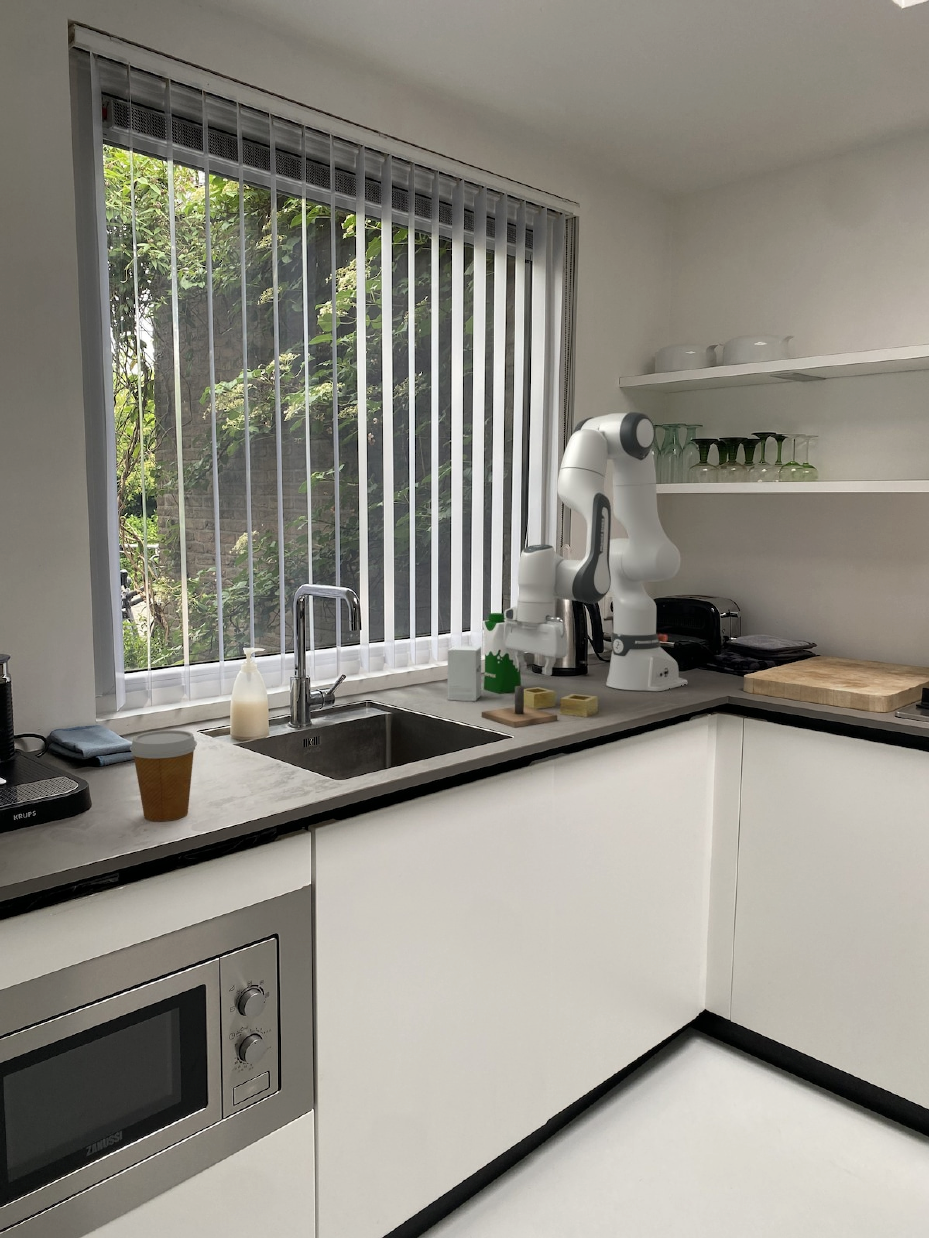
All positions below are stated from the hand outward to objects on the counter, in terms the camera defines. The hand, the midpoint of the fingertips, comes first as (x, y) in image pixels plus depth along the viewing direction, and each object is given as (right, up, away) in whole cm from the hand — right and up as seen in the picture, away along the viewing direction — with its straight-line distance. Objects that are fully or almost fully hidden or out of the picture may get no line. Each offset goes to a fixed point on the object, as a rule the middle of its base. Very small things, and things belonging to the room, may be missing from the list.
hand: (534, 672), depth 214 cm
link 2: (+10, -9, -7) cm, 15 cm away
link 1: (+1, -8, +1) cm, 8 cm away
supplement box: (-16, -7, +10) cm, 21 cm away
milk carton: (-7, -6, +21) cm, 22 cm away
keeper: (-4, -10, -13) cm, 17 cm away
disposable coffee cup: (-61, -17, -78) cm, 101 cm away
